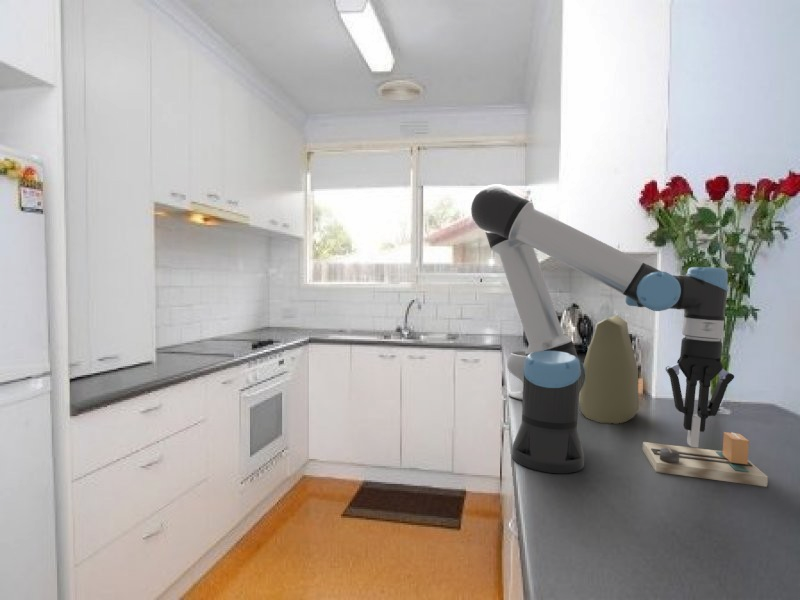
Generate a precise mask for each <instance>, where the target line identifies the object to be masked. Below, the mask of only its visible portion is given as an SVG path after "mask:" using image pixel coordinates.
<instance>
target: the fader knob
mask: <svg viewBox="0 0 800 600" xmlns="http://www.w3.org/2000/svg"><path fill="white" fill-rule="evenodd" d="M722 440H723V441H722V451H723V453H722V454H723V455H724V456H725V457H726V458H727V459H728V460H729V461H730V462H732V463H740V464H748V461H749V446H750V445H749V444H750V440H749V439H747V438H746V437H745V436H743V435H742V434H740V433H735V432H733V431H731V432H729V431H728V432H727V431H726V432H725V431H723V439H722Z"/></svg>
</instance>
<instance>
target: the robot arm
mask: <svg viewBox="0 0 800 600" xmlns="http://www.w3.org/2000/svg"><path fill="white" fill-rule="evenodd" d="M470 207H471V208H470V209H471V210H470V211H471V218H472V220H473V222H474V224H475V225H476V226H477V227H478V228H479V229H481V231H484V232H485V236H486V238H487V242H488V245H489V248H490V251H492V252H494V253H495V254H498V255H499V259H500V262H501V265H502V267H503V270H504V271H503V272H504V273H505V276H506V279H507V282H508V285H509V288H510V292H511V295H512V297H513V300H514V304H515V306H516V311H517V314H518V315H519V319H520V321H521V325H522V328H523V330H524V334H525V336H526V339H527V343H528V347H527V348H526V349H525V351H526V352H525V354H526V359H525V365H524V367H523V372H524V383H523V382H522V383H523V385H522V386H523V387H522V388H523V389H522V391H523V400H522V406H521V409H522V410H521V423H520V426H519V428H518V431H517V433H516V436H515V438H514V441H513V443H512V448H511V450H512V451H511V457H512V459H513V461H515V462H516V463H517V464H519V465H521V466H522V467H525V468H529V469H531V470H535V471H539V472H543V473H549V474H550V473H551V474H571V473H577V472H579V471H581V470H583V469H584V466H585V453H584V450H583V447H582V442H581V439H580V436H579V432H578V415H579V395H580V390H581V389H582V387H583V385H584V382H585V368H584V365H583V364H584V362H582V360H581V358H579V356H578V353H577V351H576V347H575V345H574V341H573V340H572V338H570V337H568V336H566V335H565V334H564V333H563V330H562V325H561V324H560V320H559V317H558V314H557V312H556V308H555V306H554V303H553V299H552V297H551V294H550V291H549V288H548V285H547V283H546V280H545V277H544V276H545V275H544V273H543V271H542V267H541V265H540V262H539V259H538V256H537V253H536V250H537V251H540V252H541V253H543V254H545V255H547V256H549V257H551V258H553V259H555V260H556V261H558V262H560V263H562V264H564V265H566V266H568V267H570V268H572V269H573V270H575V271H578V272H580V273H582V274H583V275H585V276H587V277H589V278H591V279H593V280H595V281H597V282H598V283H601V284H603V285H604V286H606V287H609V288H610V289H612V290H614V291H616V292H618V293H620V294H622V295H623V296H625V304H626V305H627V306H630V307H638V308H647V309H648V310H651V311H654V312H661V311H667V310H669V309H670V310H671V309H672V310H683V311H684V312H683V321H682V332H681V333H682V335H683V336H684V337H683V338H682V339H681V344H680V356H679V358H678V360H677V362H676V363H675V364H673V365H671V366H669V365H667V366H665V372H666V373H667V374H668V376H669V380H670V384H671V391H672V396H673V401H674V406H675V409H676V410H677V411H678V412H679V413H682V414H683V415H684V416H683V429H685V431H687V437H686V443H687V445H689V446H690V447H691V448H699V443H700V441H699V440H700V432H701V433H704V432H705V430H706V420H707V419H708V418H709V417H712V416H713V417H715V416H716V415H718V412H719V409H720V406H721V404H722V402H723V398H724V396H725V393H726V391H727V388H728V385H729V384H731V382H732V381H733V380H734V378H735V375H734V374H732V373H731V372H728V371H727V370H725V369H724V366H723V363H722V361H721V359H722V352H723V351H722V350H723V342H722V341H721V339H723V338H724V327H725V316H726V306H727V300H728V299H727V298H728V292H729V289H728V281H729V280H728V277H729V275H728V274H729V273H728V271H727V270H726V269H725V268H723V267H709V266H706V267H705V266H703V267H702V266H691V267H688V269H687V273H686V274H684V275H672V274H671V273H670V272H669V273H668V272H667V271H661V270H660V269H657V268H656V267H653V266H651V265H649V264H647V263H644V262H643V261H642V260H640V259H638V258H636V257H633V256H631V255H630V254H628V253H625V252H623V251H621V250H619V249H617V248H615V247H613V246H611V245H609V244H608V243H605V242H603V241H601V240H599V239H597V238H595V237H593V236H591V235H589V234H587V233H585V232H583V231H580V230H579V229H577V228H574V227H573V226H570V225H568V224H566V223H565V222H562V221H560V220H558V219H556V218H554V217H553V216H550V215H548V214H546V213H544V212H543V211H540V210H538V209H536V208H535V206H534V203H533V201H530V200H529V199H527V198H525V197H523V196H522V195H520V194H518V193H516V192H515V191H514V190H513V189H512V188H511V187H509V186H507V185H504V184H500V183H499V184H497V183H496V184H489V185H486V186H484V187H483V188H481V190H479V191H478V192H477V193H476V194H475V196H474V197H473V200H472V203H471V206H470ZM680 371H681V372H682V374H683V375H684V376H685V378H686V379H685V382H686V384H685V385H686V386H685V396H684V401H683V394H682V390H681V389H682V388H681V383H680V378H679V375H680ZM716 376H718V379H717V382H716V384H715V387H714V389H713V392H712V394H711V398H710V400H709V397H710V387H711V383H712V382H711V381H712V380H714V378H715V377H716ZM698 383H699V388H698V401H697V408H696V409H697V413H696V414H694V411H695V400H696V399H695V398H696V388H697V385H698Z"/></svg>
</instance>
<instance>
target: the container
mask: <svg viewBox="0 0 800 600" xmlns="http://www.w3.org/2000/svg"><path fill="white" fill-rule="evenodd" d="M583 361H584V362H583V365H584V368H585V382H584V385H583V387H582V389H581V390H580V392H579V400H578V403H579V406H580V407H579V408H580V409H581V410H580V411H581V414H582V415H583V416H584V417H585V418H586V419H587V418H588V420H590V419H591V421H593V420H594V421H593V422H597V423H599V422H600V424H611V423H614V424H615V425H616V424H617V425H618V424H619V423H620V424H623V423H626V422H628V421H630V420H632V418H635V415H636V414H637V413H638V411H639V369H638V364H637V362H636V357H635V352H634V349H633V344H632V339H631V337H630V333H629V328H628V322H627V321H626V320H624V319H623V318H622V317H621V316H619V315H618V314H616V315H614V316H611V317H607V318H604V319H603V320H601V321H599V322H597V323H596V325H595V329H594V333H593V336H592V338H591V341H590V343H589V346H588V349H587V352H586V355H585V357H584V360H583Z"/></svg>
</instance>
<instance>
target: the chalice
mask: <svg viewBox="0 0 800 600" xmlns="http://www.w3.org/2000/svg"><path fill="white" fill-rule="evenodd" d="M525 352H526V350H525V351H522V350H521V351H519V350H518V351H517V350H516V351H512V352H511V353H510V354H509V356H508V359H507V364H506V365H507V367H506V368H507V369H508V371H509V372H510V373H511V374H512V376H514V377H516V378H517V379H519V380H520V381H521V382H522V383H524V372H523V367H524V365H525V359H526V354H525ZM508 396H509V397H511V398H513V399H516V400H521V401H523V390H522V391H511V392H510V393H508Z"/></svg>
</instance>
